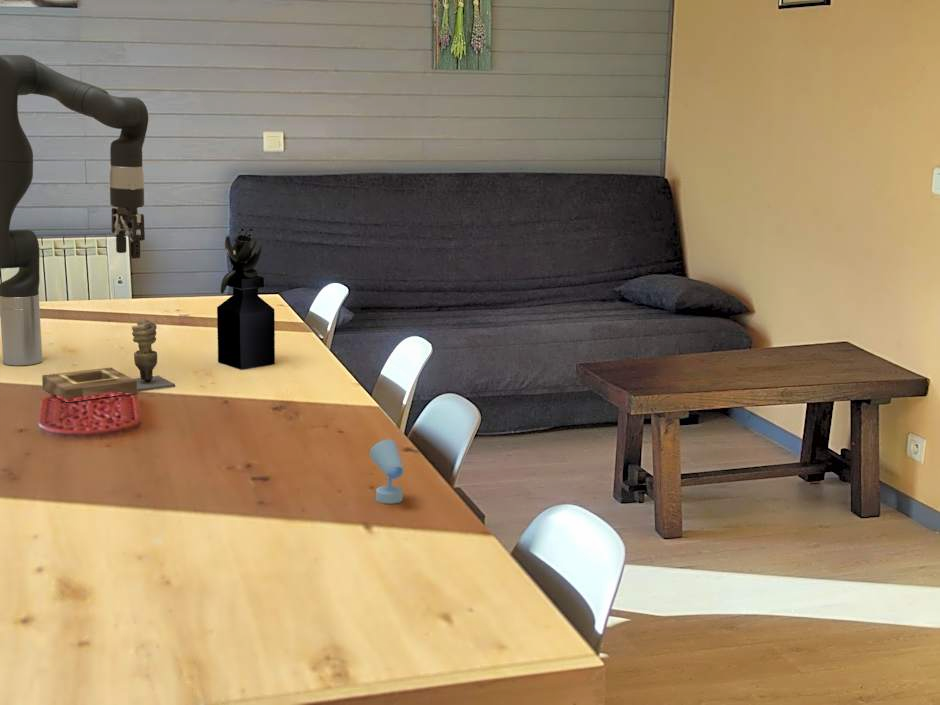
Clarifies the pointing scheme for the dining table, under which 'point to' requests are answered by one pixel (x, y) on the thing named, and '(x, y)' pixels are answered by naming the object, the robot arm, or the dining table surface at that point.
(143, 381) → the mat
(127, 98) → the robot arm
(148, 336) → the tan ridged rounded piece
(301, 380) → the dining table surface
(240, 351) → the vase
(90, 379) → the socket block
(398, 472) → the spotlight
